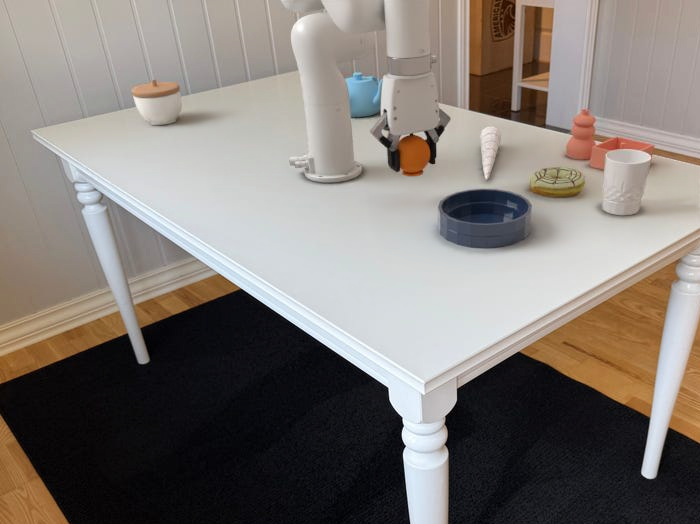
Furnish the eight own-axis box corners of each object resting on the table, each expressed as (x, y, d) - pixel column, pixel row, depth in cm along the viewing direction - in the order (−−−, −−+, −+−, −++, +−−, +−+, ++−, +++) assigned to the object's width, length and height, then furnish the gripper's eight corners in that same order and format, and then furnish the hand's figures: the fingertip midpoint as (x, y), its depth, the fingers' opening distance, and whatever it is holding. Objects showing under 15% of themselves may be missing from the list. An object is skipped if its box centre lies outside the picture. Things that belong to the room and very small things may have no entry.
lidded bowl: (196, 118, 191) (187, 76, 184) (161, 130, 182) (150, 87, 176) (165, 113, 196) (155, 72, 190) (129, 124, 188) (118, 82, 181)
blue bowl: (446, 254, 115) (446, 228, 112) (432, 216, 128) (432, 192, 125) (540, 247, 116) (542, 220, 113) (517, 210, 129) (518, 185, 126)
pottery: (651, 164, 147) (659, 117, 141) (626, 175, 141) (634, 127, 136) (580, 147, 158) (585, 103, 152) (555, 157, 153) (559, 112, 147)
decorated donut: (533, 180, 142) (534, 162, 140) (586, 184, 139) (588, 165, 137) (524, 198, 134) (525, 179, 131) (580, 203, 131) (582, 184, 128)
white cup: (635, 220, 123) (644, 166, 118) (592, 212, 127) (599, 159, 121) (647, 205, 129) (656, 152, 123) (606, 198, 132) (613, 146, 126)
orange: (396, 180, 127) (394, 140, 122) (393, 168, 132) (391, 129, 128) (433, 177, 127) (432, 137, 123) (428, 165, 133) (427, 127, 128)
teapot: (383, 103, 196) (381, 65, 190) (390, 117, 184) (388, 77, 178) (332, 107, 194) (329, 69, 189) (336, 122, 182) (332, 81, 176)
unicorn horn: (468, 181, 142) (468, 158, 140) (480, 145, 161) (481, 125, 159) (491, 182, 141) (492, 159, 139) (500, 146, 160) (501, 125, 158)
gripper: (442, 55, 125) (443, 152, 135) (354, 68, 119) (362, 169, 129) (463, 62, 119) (462, 163, 129) (372, 76, 113) (379, 181, 123)
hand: (412, 165), depth 129 cm, fingers closed on orange, 6 cm apart
